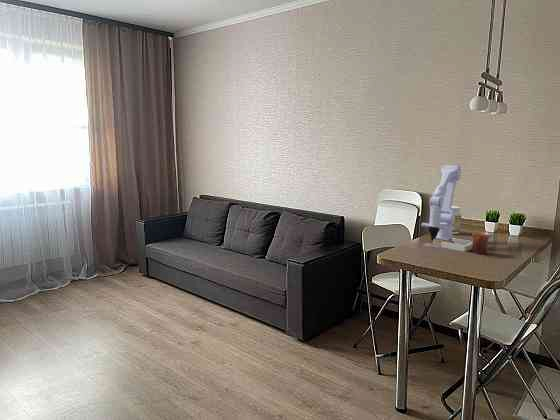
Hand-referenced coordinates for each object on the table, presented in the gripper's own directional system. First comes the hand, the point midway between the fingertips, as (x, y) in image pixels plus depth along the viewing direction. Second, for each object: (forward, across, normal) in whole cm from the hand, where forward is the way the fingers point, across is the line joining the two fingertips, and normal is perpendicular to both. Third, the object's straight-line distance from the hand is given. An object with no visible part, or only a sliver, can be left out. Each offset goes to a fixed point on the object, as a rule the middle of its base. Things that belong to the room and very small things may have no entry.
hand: (433, 240), depth 245 cm
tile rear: (+1, +3, 0) cm, 4 cm away
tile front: (+1, +8, 0) cm, 9 cm away
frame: (+1, +14, 0) cm, 14 cm away
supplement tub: (+2, -5, +37) cm, 38 cm away
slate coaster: (+2, +3, -8) cm, 9 cm away
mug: (+2, +27, -6) cm, 27 cm away
